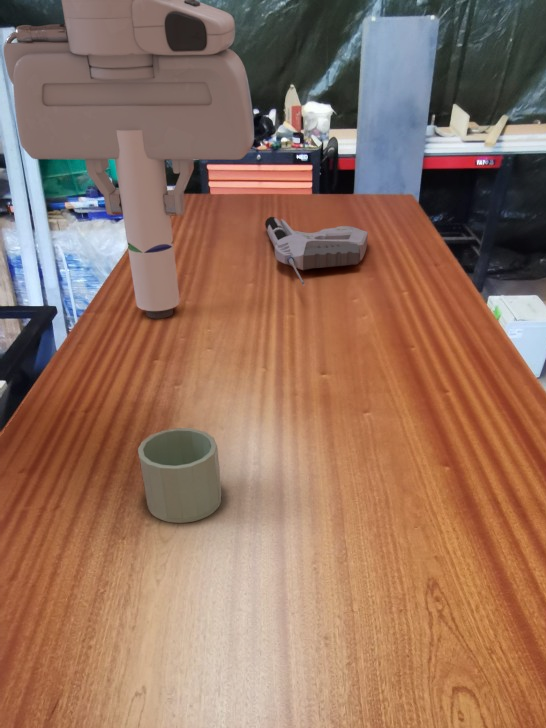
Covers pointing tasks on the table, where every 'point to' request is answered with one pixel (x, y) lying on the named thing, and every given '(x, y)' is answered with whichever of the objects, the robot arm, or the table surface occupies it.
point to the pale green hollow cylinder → (180, 474)
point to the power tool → (316, 246)
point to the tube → (146, 224)
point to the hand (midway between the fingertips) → (146, 213)
